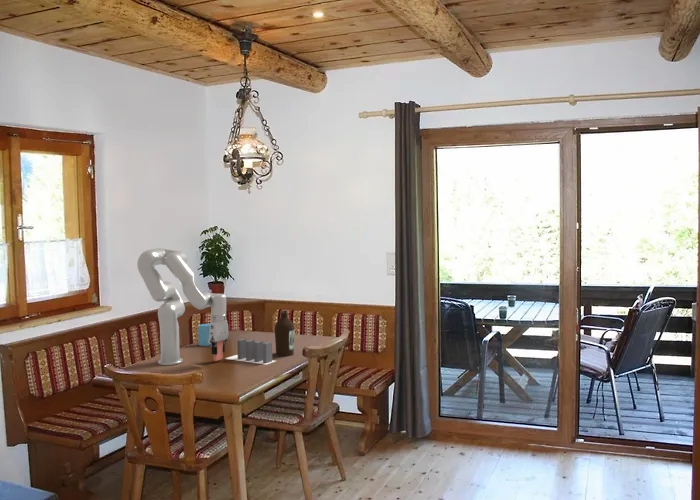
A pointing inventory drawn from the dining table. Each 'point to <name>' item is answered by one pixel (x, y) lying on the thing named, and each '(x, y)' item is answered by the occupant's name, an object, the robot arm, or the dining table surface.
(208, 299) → the robot arm
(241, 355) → the domino
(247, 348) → the domino
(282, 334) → the olive oil
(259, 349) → the domino
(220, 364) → the dining table surface
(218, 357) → the red domino
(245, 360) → the board
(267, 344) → the domino
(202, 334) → the light blue square slab
